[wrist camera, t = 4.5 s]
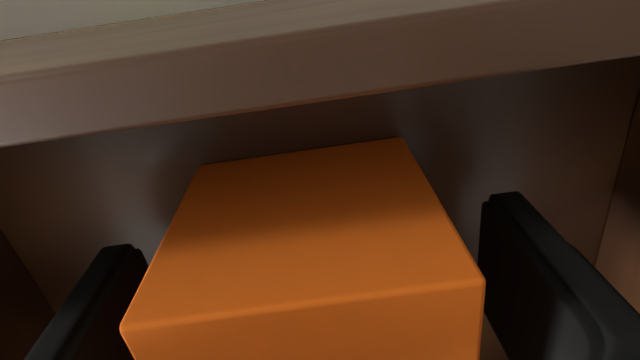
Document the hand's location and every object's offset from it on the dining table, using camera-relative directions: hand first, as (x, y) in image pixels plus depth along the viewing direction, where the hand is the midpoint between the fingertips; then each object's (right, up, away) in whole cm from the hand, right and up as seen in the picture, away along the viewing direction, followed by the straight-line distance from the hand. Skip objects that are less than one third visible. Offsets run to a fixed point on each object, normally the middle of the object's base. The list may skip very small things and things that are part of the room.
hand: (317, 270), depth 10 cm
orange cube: (0, +1, +1) cm, 2 cm away
